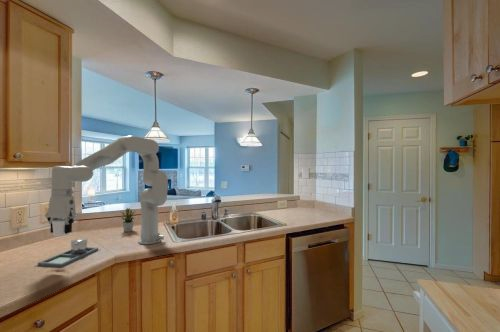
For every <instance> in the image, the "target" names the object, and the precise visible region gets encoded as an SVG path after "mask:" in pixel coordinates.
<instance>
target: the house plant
mask: <svg viewBox="0 0 500 332" xmlns="http://www.w3.org/2000/svg"><path fill="white" fill-rule="evenodd" d="M117 210H119V209H117ZM120 212H121V214H122V215H119V217H118V219H120V218H121V219H122V229H123V232H125V233H127V232H132V231H133V228H134V222H135V221H134V219H135V216H136V215H137V214H135V211H133V209H132V208H131V207H129V208H128V207H126V209H125V213H124V211H123V210H122V209H120ZM134 214H135V215H134ZM137 216H138V215H137Z"/></svg>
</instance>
